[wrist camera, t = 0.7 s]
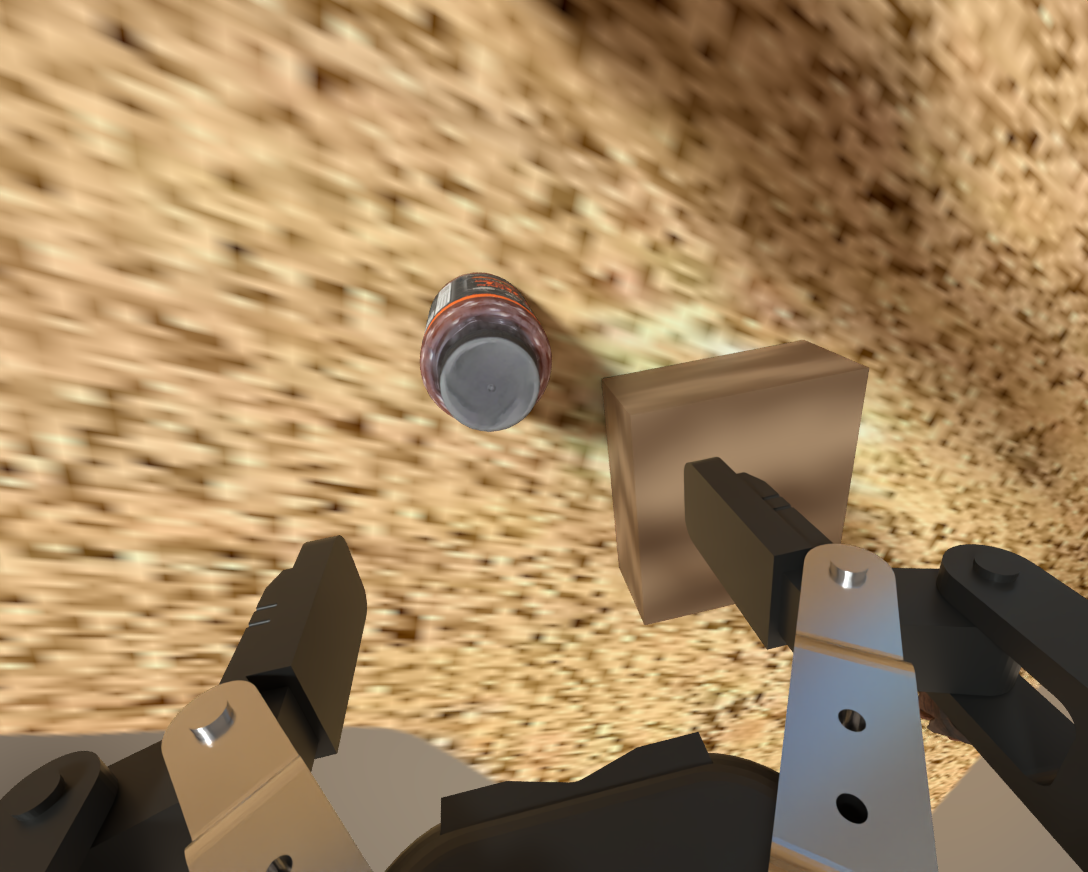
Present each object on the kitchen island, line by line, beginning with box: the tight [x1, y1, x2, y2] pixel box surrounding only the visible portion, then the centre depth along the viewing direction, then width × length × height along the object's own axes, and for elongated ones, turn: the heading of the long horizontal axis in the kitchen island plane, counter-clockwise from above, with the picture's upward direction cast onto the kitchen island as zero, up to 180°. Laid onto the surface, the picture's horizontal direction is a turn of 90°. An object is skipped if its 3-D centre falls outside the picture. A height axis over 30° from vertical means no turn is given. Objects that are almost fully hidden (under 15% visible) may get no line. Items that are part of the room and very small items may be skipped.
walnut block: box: [602, 340, 869, 625], centre depth 34 cm, size 16×14×6 cm
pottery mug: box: [918, 691, 972, 745], centre depth 52 cm, size 12×9×8 cm
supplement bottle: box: [420, 273, 552, 432], centre depth 25 cm, size 6×6×11 cm
